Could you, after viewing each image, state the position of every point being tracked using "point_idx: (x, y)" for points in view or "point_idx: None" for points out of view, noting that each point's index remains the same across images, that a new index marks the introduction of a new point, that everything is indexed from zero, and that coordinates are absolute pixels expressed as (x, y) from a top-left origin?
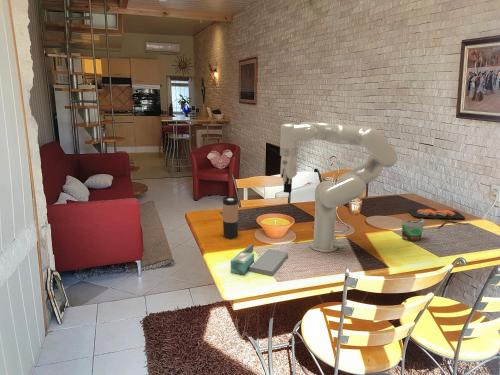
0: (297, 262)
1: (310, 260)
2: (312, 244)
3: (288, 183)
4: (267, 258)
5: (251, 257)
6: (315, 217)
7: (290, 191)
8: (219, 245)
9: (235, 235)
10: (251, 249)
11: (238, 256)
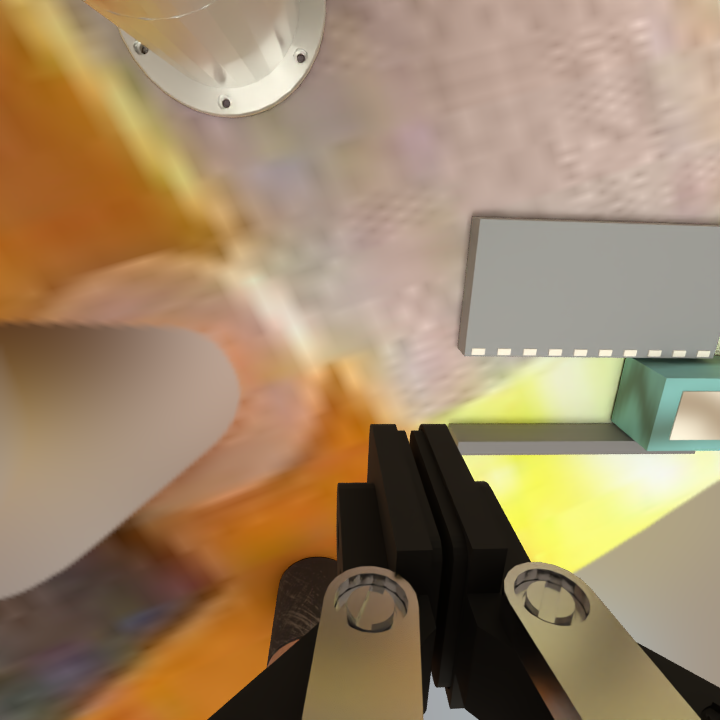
0: (535, 134)
1: (483, 54)
2: (254, 92)
3: (584, 617)
4: (595, 307)
5: (698, 375)
6: (227, 1)
7: (447, 432)
8: None
9: (331, 570)
10: (478, 430)
11: (718, 436)
